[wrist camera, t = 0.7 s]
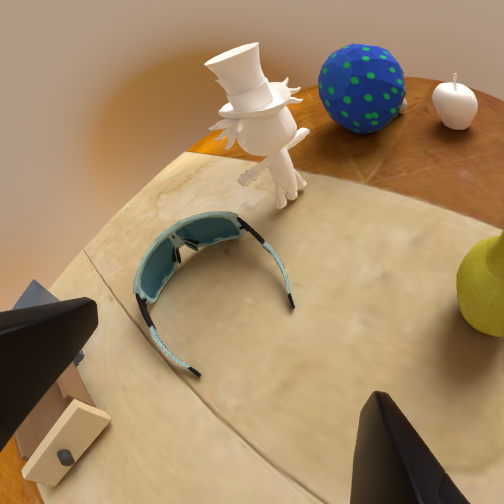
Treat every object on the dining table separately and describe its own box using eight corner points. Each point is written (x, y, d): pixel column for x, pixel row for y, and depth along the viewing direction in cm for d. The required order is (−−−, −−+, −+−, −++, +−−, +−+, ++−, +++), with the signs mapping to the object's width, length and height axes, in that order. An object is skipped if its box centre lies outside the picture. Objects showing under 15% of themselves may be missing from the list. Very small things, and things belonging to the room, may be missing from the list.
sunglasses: (235, 217, 35) (219, 188, 31) (316, 303, 26) (309, 277, 22) (141, 287, 34) (116, 266, 30) (193, 393, 25) (164, 384, 21)
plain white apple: (484, 125, 29) (484, 76, 24) (463, 141, 29) (462, 87, 24) (449, 110, 34) (445, 64, 29) (425, 123, 34) (420, 73, 29)
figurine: (297, 167, 38) (245, 40, 25) (345, 180, 33) (299, 29, 20) (241, 218, 35) (165, 83, 23) (288, 241, 30) (208, 73, 17)
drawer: (117, 428, 22) (82, 416, 19) (59, 494, 17) (27, 488, 14) (70, 341, 32) (46, 324, 29) (25, 403, 27) (1, 391, 24)
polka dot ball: (439, 66, 29) (368, 18, 23) (430, 154, 34) (356, 127, 28) (375, 68, 41) (305, 39, 35) (366, 141, 46) (293, 122, 40)
